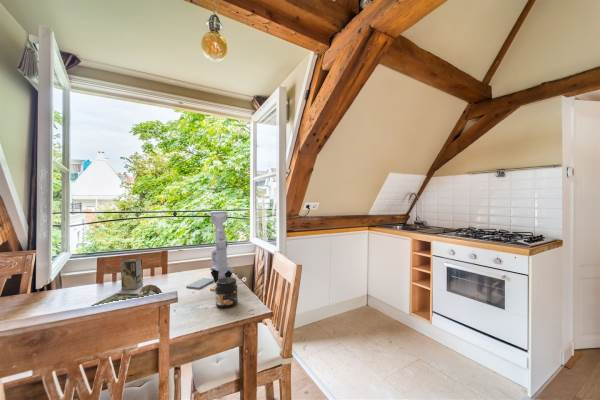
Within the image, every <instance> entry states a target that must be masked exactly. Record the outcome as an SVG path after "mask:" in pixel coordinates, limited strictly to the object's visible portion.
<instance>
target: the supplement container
mask: <svg viewBox="0 0 600 400" xmlns="http://www.w3.org/2000/svg"><path fill="white" fill-rule="evenodd" d="M220 278H221V277H220ZM218 279H219V278H218ZM215 284H216V285H215V286H217V287H216V288H215V290H216V291H215V306H216V307H217V308H219V309H229V308H233V307H234V306H236V305H237V304H238V302H239V299H238V296H239V295H238V287H239V286H238V284H237V278H235V277H232V276H231V277H226V278H221V279H219V280H217V281H216V283H215Z"/></svg>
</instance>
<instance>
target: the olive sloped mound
mask: <svg viewBox="0 0 600 400" xmlns="http://www.w3.org/2000/svg"><path fill="white" fill-rule="evenodd" d="M159 293H163V291H162V290H161V288H160V287H158V286H157V285H155V284H146V285H145V286H142V288H141V289H140V290H139V293H120V292H119V293H117V292H116V293H115V294H112V295H111V296H109V297H108V296H107V297H106V298H104V299H102V300H100V301H98V302H96V303H93V304H91V305H90V306H94V305H99V304H104V303H109V302H113V301H119V300H126V299H132V298H139V297H144V296H149V295H154V294H159Z"/></svg>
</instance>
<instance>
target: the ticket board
mask: <svg viewBox="0 0 600 400" xmlns="http://www.w3.org/2000/svg"><path fill="white" fill-rule="evenodd" d="M212 283H215V281H214V278H209V277H202V278H201V279H198V280H196V281H194V282H192V283H189V284H188V285H186V289H193V290H201V289H203V288H205V287H207V286H209V285H210V284H212Z"/></svg>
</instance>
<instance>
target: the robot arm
mask: <svg viewBox="0 0 600 400" xmlns="http://www.w3.org/2000/svg"><path fill="white" fill-rule="evenodd" d="M227 213H228V211H227V210H211V211H210V222H211V223H212V224H214V226H215V227H214V229H215V230H214V231H215V232H214V234H215V235H214V236H215V238H214V239H215V245H214V246H215V247H214V248H213V249H211V250H212V251H211V254H210V255H211V257H210V258H211V259H210V260H211V263H213V266H211V267H210V268H209V269H210V276H211V277H212V279H214V284H216V281H217V280H218V279H219V278H221V277H232V276H233V273H234V270H235V269H234V268H233V267H229V265H228V253H227V249H228V240H227V235H226V231H225V229H224V223H226V221H227V218H228V217H227V216H228V215H227Z"/></svg>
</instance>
